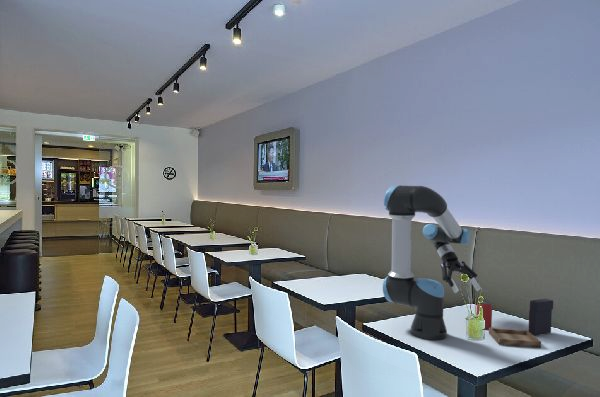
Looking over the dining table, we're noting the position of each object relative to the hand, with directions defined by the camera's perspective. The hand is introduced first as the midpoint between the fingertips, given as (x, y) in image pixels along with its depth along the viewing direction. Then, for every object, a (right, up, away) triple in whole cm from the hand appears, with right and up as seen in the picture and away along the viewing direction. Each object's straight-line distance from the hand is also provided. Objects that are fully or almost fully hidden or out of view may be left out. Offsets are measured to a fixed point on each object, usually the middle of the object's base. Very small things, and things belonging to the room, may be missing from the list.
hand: (468, 291), depth 202 cm
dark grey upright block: (+26, -16, -16) cm, 34 cm away
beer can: (+3, -15, -9) cm, 18 cm away
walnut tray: (+9, -15, -26) cm, 31 cm away
